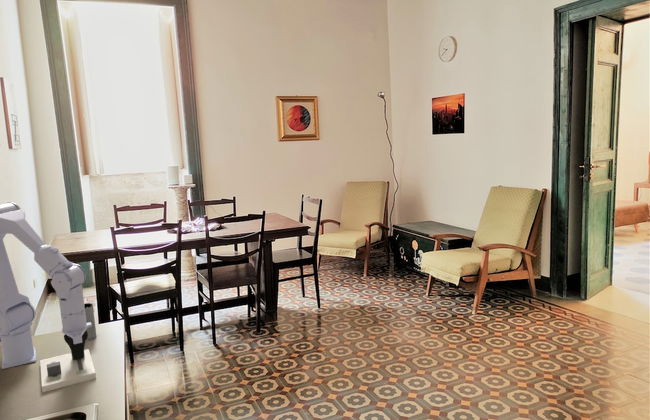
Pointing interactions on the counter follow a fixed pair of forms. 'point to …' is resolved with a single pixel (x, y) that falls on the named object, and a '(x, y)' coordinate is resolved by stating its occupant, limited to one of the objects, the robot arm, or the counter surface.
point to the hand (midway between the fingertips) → (78, 358)
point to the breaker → (53, 369)
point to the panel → (67, 371)
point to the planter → (90, 318)
